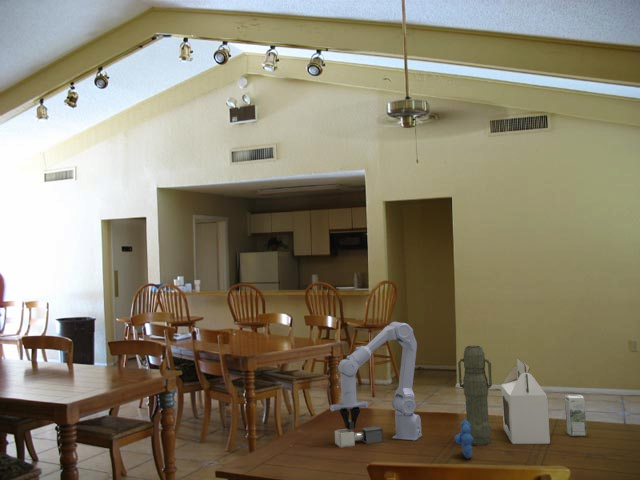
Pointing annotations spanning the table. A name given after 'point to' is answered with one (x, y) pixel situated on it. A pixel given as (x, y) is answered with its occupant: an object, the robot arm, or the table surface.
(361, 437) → the silver cylinder with handle
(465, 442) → the grapes
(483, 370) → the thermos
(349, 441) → the ceramic socket
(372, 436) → the charcoal sleeve
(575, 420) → the syrup box
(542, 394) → the gable box
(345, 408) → the robot arm
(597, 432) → the table surface
